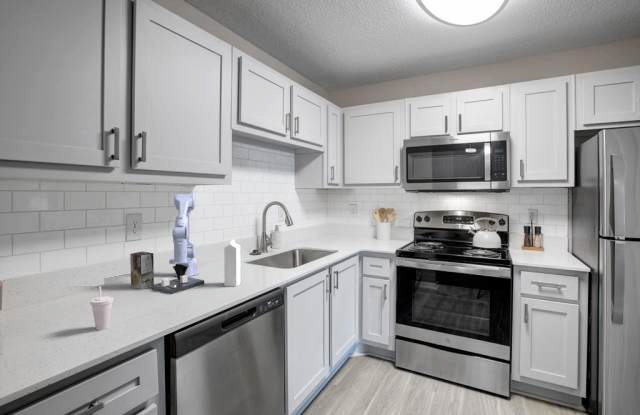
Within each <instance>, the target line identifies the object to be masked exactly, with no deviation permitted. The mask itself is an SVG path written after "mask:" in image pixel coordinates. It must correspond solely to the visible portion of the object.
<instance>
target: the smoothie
mask: <svg viewBox="0 0 640 415" xmlns="http://www.w3.org/2000/svg"><path fill="white" fill-rule="evenodd" d="M98 293H99V294H98V296H97V297H94V298H92V299H91V300H90V306H91V308H92V314H93V319H94V324H95V330H96V331H102V330H107V329H109V328H110V324H111V315H112V308H113V307H112V306H113V302H114V297H113V296H111V295H110V296H106V295H105V296H102V285H99V287H98Z"/></svg>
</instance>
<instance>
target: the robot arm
mask: <svg viewBox="0 0 640 415" xmlns="http://www.w3.org/2000/svg"><path fill="white" fill-rule="evenodd" d="M195 198H196V196H195V194H194V193H192V194H189V193H188V194H186V193H185V194H184V193H179V194H177V193H175V194H174V198H173V203H174V207H175V209H176V210H177V211H178V215H177V216H176V217H175V220H174V228H173V229H172V233H171V234H172V242H173V258H172V259H169V262H168V263H169V264H170V265H171V264H172V269H173V270H174V272H175V274H174V277H176V279H177V278H178V280H179V281H180V276H183V275H187V276H188V277H192V276H195V275H196V276H197V275H199V272H198V260H197V259H196V258H195V257H196V247H195V246H196V245H195V242H192V241H191V240H190V237H191V236H190V231H191V230H190V229H191V228H190V227H191V225H190V224H191V223H190V221H191V220H190V219H191V216H190V215H191V212H192V211H193V210H195V207H196V206H195V204H196V203H195V202H196V199H195Z"/></svg>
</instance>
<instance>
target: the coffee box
mask: <svg viewBox="0 0 640 415" xmlns="http://www.w3.org/2000/svg"><path fill="white" fill-rule="evenodd" d="M129 256H130V257H129V258H130V260H129V261H130V287H132V288H134V289H139V290H145V289H148V288H152V285H154V284H155V282H154V281H155V280H154V279H155V277H154V276H155V275H154V269H155V268H154V265H155V264H154V262H155V261H154V253H153V252H148V251H136V252H133V253H130V254H129Z"/></svg>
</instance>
